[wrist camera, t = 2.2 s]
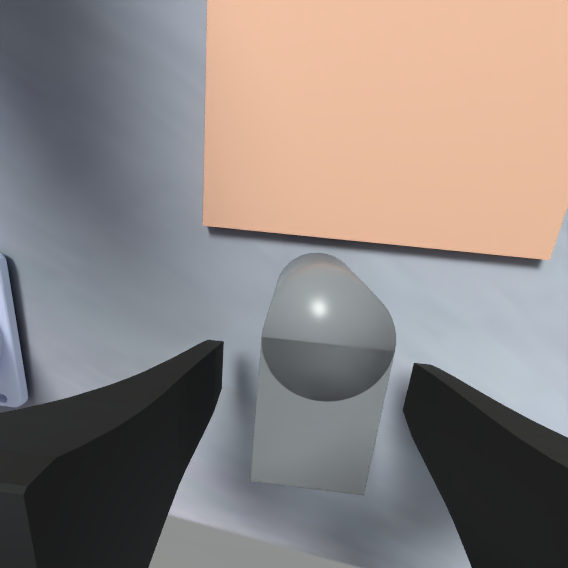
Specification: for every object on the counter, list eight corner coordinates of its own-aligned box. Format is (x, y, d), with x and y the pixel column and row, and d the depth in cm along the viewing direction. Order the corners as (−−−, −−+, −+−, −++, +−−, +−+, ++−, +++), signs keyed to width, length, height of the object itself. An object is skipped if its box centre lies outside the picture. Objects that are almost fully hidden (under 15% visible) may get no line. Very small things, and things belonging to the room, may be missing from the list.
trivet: (206, 225, 12) (203, 225, 11) (218, -247, 8) (212, -276, 8) (538, 258, 11) (549, 260, 11) (695, -220, 8) (721, -249, 7)
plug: (264, 419, 14) (246, 527, 9) (279, 248, 12) (266, 272, 7) (334, 427, 14) (353, 541, 9) (362, 257, 12) (408, 286, 7)
